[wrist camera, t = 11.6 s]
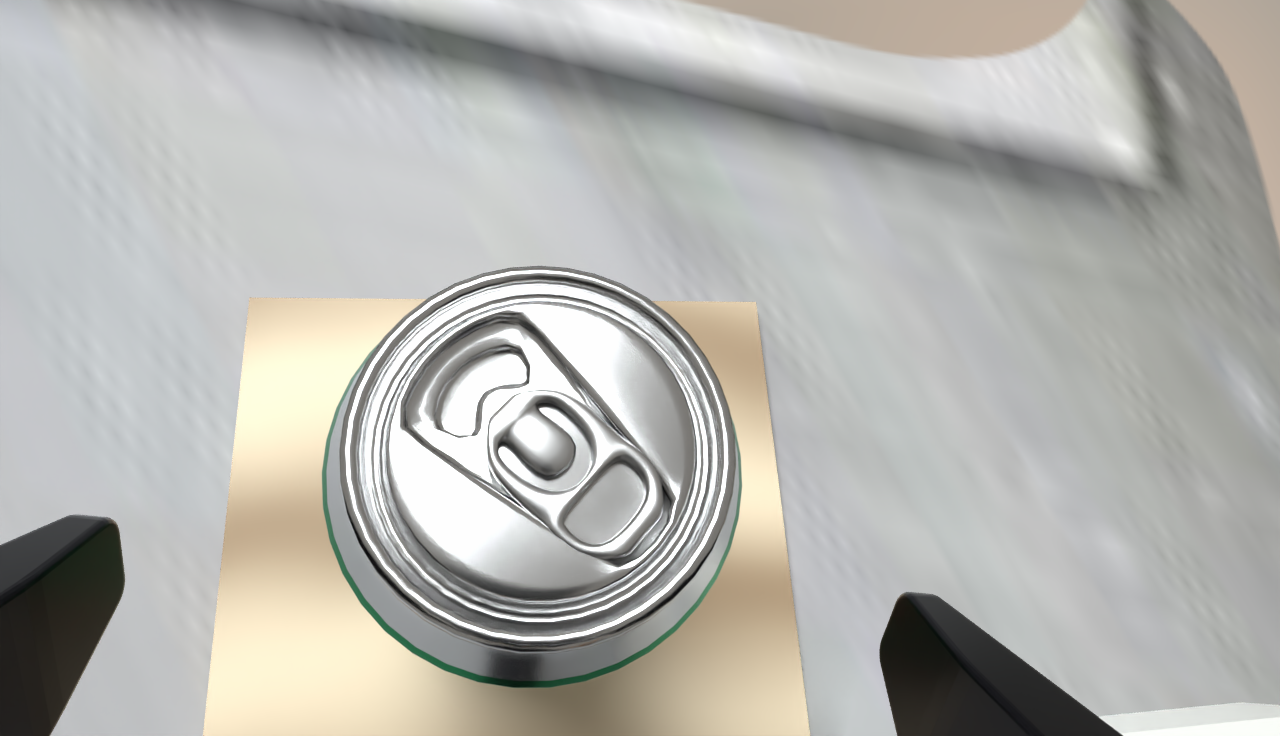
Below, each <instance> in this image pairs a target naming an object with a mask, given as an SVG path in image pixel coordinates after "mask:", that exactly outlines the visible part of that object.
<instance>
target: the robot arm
mask: <svg viewBox="0 0 1280 736" xmlns="http://www.w3.org/2000/svg"><path fill="white" fill-rule="evenodd" d="M124 585H125V574H124V565H123V557H122V549H121V541H120V533H119V528H118V525H117V524H116V522H115V521H114V520H112V519H111V518H108V517H99V516H88V515H69V516H67V517H64V518H62V519H59V520H57V521H55V522H53V523H50V524H48V525H46V526H43V527H41V528H39V529H36V530H34V531H32V532H30V533H27V534H25V535H23V536H20V537H18V538H16V539H13V540H11V541H9V542H7V543H4V544H2V545H0V736H50V734H51V733H52V731H53V729H54V727H55V726H56V724H57V722H58V720H59V718H60V717H61V715H62V713H63V711H64V709H65V707H66V705H67V703H68V701H69V699H70V698H71V696H72V694H73V692H74V690H75V688H76V686H77V684H78V682H79V680H80V678H81V676H82V674H83V672H84V670H85V668H86V666H87V664H88V662H89V660H90V659H91V657H92V655H93V653H94V651H95V649H96V647H97V645H98V643H99V641H100V639H101V637H102V635H103V633H104V631H105V629H106V627H107V625H108V623H109V621H110V620H111V618H112V616H113V614H114V612H115V610H116V608H117V606H118V604H119V602H120V600H121V597H122V594H123V590H124ZM880 663H881V668H882V672H883V676H884V681H885V685H886V689H887V694H888V698H889V702H890V706H891V711H892V715H893V719H894V724H895V728H896V732H897V736H1123V735H1122V734H1120V733H1119V732H1118V731H1116V730H1115V729H1114V728H1112V727H1111V726H1110V725H1108V724H1107V723H1106V722H1105V721H1103V720H1102V719H1101V718H1099V717H1098V716H1097V715H1095V714H1094V713H1093V712H1091V711H1090V710H1089V709H1087V708H1086V707H1085V706H1083V705H1082V704H1081V703H1079V702H1078V701H1077V700H1075V699H1074V698H1073V697H1071V696H1070V695H1069V694H1067V693H1066V692H1065V691H1063V690H1062V689H1061V688H1059V687H1058V686H1057V685H1055V684H1054V683H1053V682H1051V681H1050V680H1049V679H1047V678H1046V677H1045V676H1043V675H1042V674H1041V673H1039V672H1038V671H1037V670H1035V669H1034V668H1033V667H1031V666H1030V665H1029V664H1027V663H1026V662H1025V661H1023V660H1022V659H1021V658H1019V657H1018V656H1017V655H1015V654H1014V653H1013V652H1011V651H1010V650H1009V649H1007V648H1006V647H1005V646H1003V645H1002V644H1001V643H999V642H998V641H997V640H995V639H994V638H993V637H991V636H990V635H989V634H987V633H986V632H985V631H983V630H982V629H981V628H979V627H978V626H977V625H975V624H974V623H973V622H971V621H970V620H969V619H967V618H966V617H965V616H964V615H962V614H961V613H960V612H958V611H957V610H956V609H954V608H953V607H952V606H950V605H949V604H948V603H946V602H945V601H944V600H942V599H941V598H939V597H938V596H936V595H933V594H925V593H914V592H906V593H903V594H901V595H900V597H899V598H898V599H897V601H896V604H895V606H894V609H893V611H892V614H891V617H890V619H889V622H888V624H887V627H886V630H885V632H884V635H883V637H882V640H881V644H880Z"/></svg>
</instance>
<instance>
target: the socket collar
mask: <svg viewBox="0 0 1280 736" xmlns="http://www.w3.org/2000/svg"><path fill="white" fill-rule="evenodd" d="M1098 717H1099V718H1101V719H1102V720H1103V721H1105V722H1106V723H1107V724H1108V725H1110V726H1111V727H1112V728H1114V729H1115V730H1116V731H1118V732H1119V733H1120V734H1122V735H1123V736H1280V705H1270V704H1256V703H1242V702H1239V703H1229V704H1218V705H1208V706H1198V707H1188V708H1178V709H1168V710H1157V711H1147V712H1137V713H1127V714H1117V715H1107V716H1098Z"/></svg>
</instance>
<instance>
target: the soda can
mask: <svg viewBox="0 0 1280 736" xmlns="http://www.w3.org/2000/svg"><path fill="white" fill-rule="evenodd" d="M741 493H742V471H741V454H740V449H739V444H738V439H737V435H736V430H735V425H734V422H733V420H732V417H731V414H730V409H729V406H728V403H727V400H726V398H725V395H724V392H723V389H722V387H721V384H720V381H719V379H718V377H717V376H716V374H715V372H714V370H713V368H712V366H711V365H710V363H709V361H708V359H707V357H706V356H705V354H704V353H703V352H702V350H701V349H700V348H699V346H698V345H697V344H696V342H695V341H694V340H693V338H692V337H691V336H690V334H689V333H688V332H687V331H686V330H685V329H684V328H683V327H682V326H681V325H680V324H679V323H678V322H677V321H676V320H675V319H674V318H673V317H672V316H671V315H670V314H668V313H667V312H666V311H664V310H663V309H662V308H660V307H659V306H658V305H656V304H655V303H654V302H652V301H651V300H650V299H648V298H647V297H645V296H643V295H641V294H640V293H638V292H636V291H634V290H632V289H630V288H628V287H627V286H625V285H623V284H621V283H618V282H615V281H613V280H610V279H607V278H604V277H602V276H599V275H596V274H593V273H588V272H583V271H579V270H574V269H570V268H561V267H547V266H530V267H515V268H507V269H502V270H497V271H493V272H488V273H483V274H480V275H477V276H474V277H472V278H469V279H466V280H463V281H461V282H458V283H455V284H453V285H451V286H449V287H448V288H446V289H444V290H442V291H440V292H438V293H437V294H435V295H433V296H431V297H429V298H428V299H426V300H425V301H424V302H422V303H421V304H420V305H418V306H417V307H416V308H414V309H413V310H412V311H410V312H409V313H408V314H406V315H405V316H404V317H403V318H402V319H401V320H400V321H399V322H398V323H397V324H396V325H395V326H394V327H393V328H392V329H391V330H390V331H389V332H388V333H387V334H386V335H385V336H384V338H383V339H382V340H381V341H380V342H379V343H378V344H377V345H376V346H375V347H374V349H373V350H372V351H371V352H370V353H369V354H368V355H367V357H366V358H365V360H364V361H363V362H362V364H361V365H360V367H359V368H358V369H357V371H356V372H355V374H354V375H353V376H352V378H351V379H350V381H349V383H348V385H347V387H346V389H345V391H344V393H343V396H342V398H341V400H340V402H339V404H338V406H337V408H336V410H335V414H334V417H333V420H332V423H331V426H330V430H329V433H328V436H327V439H326V446H325V453H324V460H323V467H322V500H323V511H324V516H325V521H326V526H327V531H328V536H329V541H330V543H331V546H332V549H333V551H334V554H335V556H336V559H337V561H338V564H339V566H340V569H341V572H342V574H343V576H344V577H345V579H346V581H347V582H348V584H349V585H350V587H351V589H352V590H353V592H354V594H355V595H356V597H357V599H358V600H359V602H360V604H361V605H362V606H363V607H364V608H365V609H366V611H367V612H368V613H369V614H370V615H371V616H372V617H373V619H374V620H375V621H376V622H377V623H378V624H379V625H380V626H381V628H382V629H383V630H384V631H385V632H386V633H388V634H389V635H390V636H391V637H393V638H394V639H395V640H396V641H398V642H399V643H400V644H401V645H403V646H404V647H405V648H406V649H408V650H409V651H410V652H411V653H413V654H415V655H416V656H418V657H420V658H422V659H424V660H426V661H427V662H429V663H431V664H433V665H435V666H436V667H438V668H440V669H442V670H444V671H446V672H449V673H452V674H455V675H458V676H461V677H464V678H467V679H470V680H473V681H476V682H479V683H485V684H492V685H498V686H504V687H510V688H551V687H557V686H563V685H568V684H574V683H579V682H585V681H588V680H591V679H593V678H596V677H599V676H602V675H605V674H607V673H610V672H613V671H616V670H619V669H620V668H622V667H624V666H626V665H628V664H629V663H631V662H633V661H635V660H637V659H638V658H640V657H642V656H644V655H646V654H647V653H649V652H650V651H652V650H653V649H654V648H656V647H657V646H658V645H659V644H661V643H662V642H663V641H664V640H666V639H667V638H668V637H669V636H671V635H672V634H673V633H674V632H676V631H677V630H678V629H679V628H680V626H681V625H682V624H683V623H684V622H685V621H686V620H687V619H688V618H689V617H690V615H691V614H692V613H693V612H694V611H695V610H696V609H697V608H698V607H699V605H700V604H701V602H702V601H703V599H704V598H705V596H706V595H707V593H708V592H709V590H710V589H711V587H712V586H713V584H714V583H715V581H716V579H717V578H718V575H719V573H720V571H721V569H722V567H723V564H724V562H725V560H726V558H727V555H728V553H729V551H730V549H731V545H732V541H733V538H734V534H735V530H736V526H737V523H738V519H739V512H740V502H741Z"/></svg>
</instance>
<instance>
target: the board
mask: <svg viewBox="0 0 1280 736" xmlns="http://www.w3.org/2000/svg"><path fill="white" fill-rule="evenodd" d="M425 300H426V299H342V298H249V308H248V317H247V327H246V336H245V345H244V355H243V364H242V374H241V383H240V392H239V402H238V411H237V421H236V430H235V439H234V449H233V458H232V468H231V477H230V486H229V496H228V505H227V515H226V524H225V533H224V543H223V552H222V562H221V571H220V580H219V590H218V599H217V608H216V618H215V627H214V637H213V646H212V655H211V665H210V674H209V684H208V693H207V702H206V712H205V721H204V731H203V736H810V730H809V722H808V714H807V706H806V698H805V690H804V682H803V674H802V666H801V658H800V650H799V642H798V634H797V626H796V618H795V610H794V602H793V594H792V586H791V578H790V570H789V562H788V554H787V546H786V538H785V530H784V522H783V514H782V506H781V498H780V490H779V482H778V474H777V466H776V458H775V450H774V442H773V434H772V426H771V418H770V410H769V402H768V394H767V386H766V378H765V370H764V362H763V354H762V346H761V338H760V330H759V322H758V314H757V306H756V302H689V301H652V302H654V303H655V304H656V305H658V306H659V307H660V308H662V309H663V310H664V311H666V312H667V313H668V314H670V315H671V316H672V317H673V318H674V319H675V320H676V321H677V322H678V323H679V324H680V325H681V326H682V327H683V328H684V329H685V330H686V331H687V332H688V333H689V334H690V336H691V337H692V338H693V340H694V341H695V342H696V344H697V345H698V346H699V348H700V349H701V350H702V352H703V353H704V354H705V356H706V357H707V359H708V361H709V363H710V365H711V366H712V368H713V370H714V372H715V374H716V376H717V377H718V379H719V381H720V384H721V387H722V389H723V392H724V395H725V398H726V400H727V403H728V406H729V409H730V414H731V417H732V420H733V422H734V425H735V430H736V435H737V439H738V444H739V449H740V454H741V471H742V493H741V502H740V512H739V519H738V523H737V526H736V530H735V534H734V538H733V541H732V545H731V549H730V551H729V553H728V555H727V558H726V560H725V562H724V564H723V567H722V569H721V571H720V573H719V575H718V578H717V579H716V581H715V583H714V584H713V586H712V587H711V589H710V590H709V592H708V593H707V595H706V596H705V598H704V599H703V601H702V602H701V604H700V605H699V607H698V608H697V609H696V610H695V611H694V612H693V613H692V614H691V615H690V617H689V618H688V619H687V620H686V621H685V622H684V623H683V624H682V625H681V626H680V628H679V629H678V630H677V631H676V632H674V633H673V634H672V635H671V636H669V637H668V638H667V639H666V640H664V641H663V642H662V643H661V644H659V645H658V646H657V647H656V648H654V649H653V650H652V651H650V652H649V653H647V654H646V655H644V656H642V657H640V658H638V659H637V660H635V661H633V662H631V663H629V664H628V665H626V666H624V667H622V668H620V669H619V670H616V671H613V672H610V673H607V674H605V675H602V676H599V677H596V678H593V679H591V680H588V681H585V682H579V683H574V684H568V685H563V686H557V687H551V688H510V687H504V686H498V685H492V684H485V683H479V682H476V681H473V680H470V679H467V678H464V677H461V676H458V675H455V674H452V673H449V672H446V671H444V670H442V669H440V668H438V667H436V666H435V665H433V664H431V663H429V662H427V661H426V660H424V659H422V658H420V657H418V656H416V655H415V654H413V653H411V652H410V651H409V650H408V649H406V648H405V647H404V646H403V645H401V644H400V643H399V642H398V641H396V640H395V639H394V638H393V637H391V636H390V635H389V634H388V633H386V632H385V631H384V630H383V629H382V628H381V626H380V625H379V624H378V623H377V622H376V621H375V620H374V619H373V617H372V616H371V615H370V614H369V613H368V612H367V611H366V609H365V608H364V607H363V606H362V605H361V604H360V602H359V600H358V599H357V597H356V595H355V594H354V592H353V590H352V589H351V587H350V585H349V584H348V582H347V581H346V579H345V577H344V576H343V574H342V572H341V569H340V566H339V564H338V561H337V559H336V556H335V554H334V551H333V549H332V546H331V543H330V541H329V536H328V531H327V526H326V521H325V516H324V511H323V500H322V467H323V460H324V453H325V446H326V439H327V436H328V433H329V430H330V426H331V423H332V420H333V417H334V414H335V410H336V408H337V406H338V404H339V402H340V400H341V398H342V396H343V393H344V391H345V389H346V387H347V385H348V383H349V381H350V379H351V378H352V376H353V375H354V374H355V372H356V371H357V369H358V368H359V367H360V365H361V364H362V362H363V361H364V360H365V358H366V357H367V355H368V354H369V353H370V352H371V351H372V350H373V349H374V347H375V346H376V345H377V344H378V343H379V342H380V341H381V340H382V339H383V338H384V336H385V335H386V334H387V333H388V332H389V331H390V330H391V329H392V328H393V327H394V326H395V325H396V324H397V323H398V322H399V321H400V320H401V319H402V318H403V317H404V316H405V315H406V314H408V313H409V312H410V311H412V310H413V309H414V308H416V307H417V306H418V305H420V304H421V303H422V302H424V301H425Z"/></svg>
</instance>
